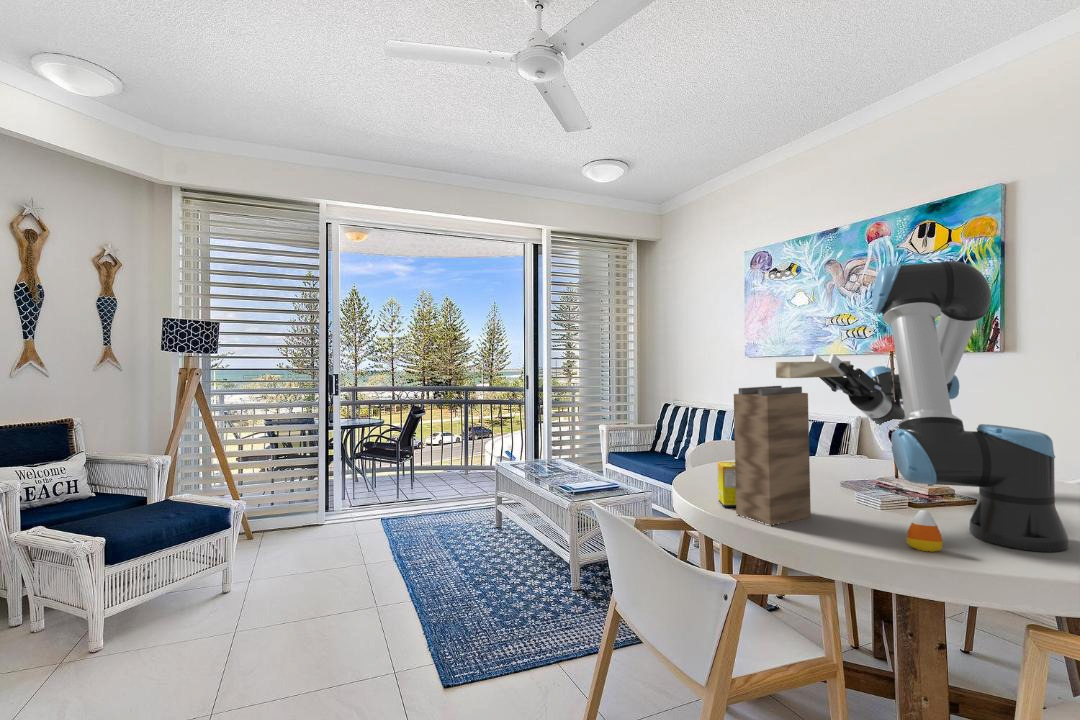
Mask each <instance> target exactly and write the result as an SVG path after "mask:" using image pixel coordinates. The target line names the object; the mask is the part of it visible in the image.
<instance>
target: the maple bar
mask: <svg viewBox="0 0 1080 720" xmlns="http://www.w3.org/2000/svg"><path fill="white" fill-rule="evenodd" d="M828 361H829V360H828ZM828 361H827V360H826V361H825V360H824V361H815V362H812V361H776V362H775V378H776V379H803V378H804V379H805V378H806V379H807V378H809V379H810V378H819V377H838V376H843V377H846V376H845V375H846V374H845V375H841V374H840V373H838V372H837V371H836V370H835V369H834V368H833V367H832V366H830V365H829V364H828ZM841 361H842V362H843V363H845V364H846V365H847V366H849V365H851V361H850V360H841Z"/></svg>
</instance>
